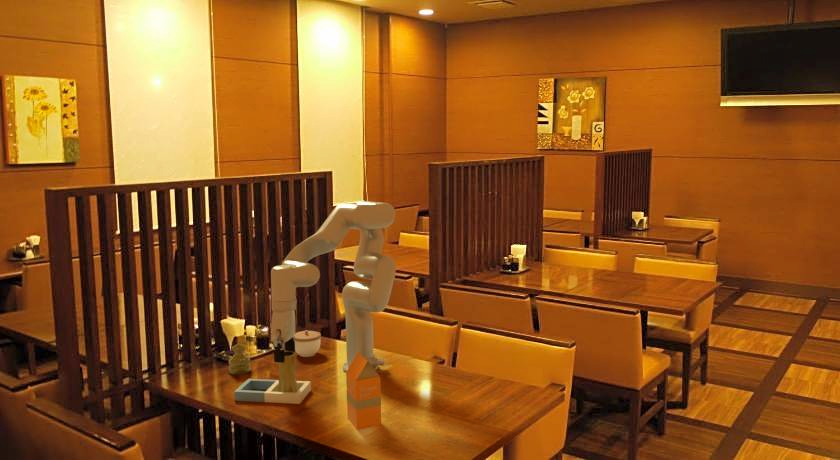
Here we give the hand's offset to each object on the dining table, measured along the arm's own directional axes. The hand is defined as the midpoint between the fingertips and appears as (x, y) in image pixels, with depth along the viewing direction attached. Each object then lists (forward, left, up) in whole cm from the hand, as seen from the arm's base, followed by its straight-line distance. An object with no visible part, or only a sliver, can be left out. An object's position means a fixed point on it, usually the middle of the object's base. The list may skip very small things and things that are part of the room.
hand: (284, 357), depth 224 cm
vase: (0, -1, -13) cm, 13 cm away
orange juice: (-29, +15, -13) cm, 36 cm away
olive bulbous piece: (+25, -21, -13) cm, 35 cm away
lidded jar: (+7, -42, -13) cm, 44 cm away
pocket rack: (+5, -1, -13) cm, 14 cm away
